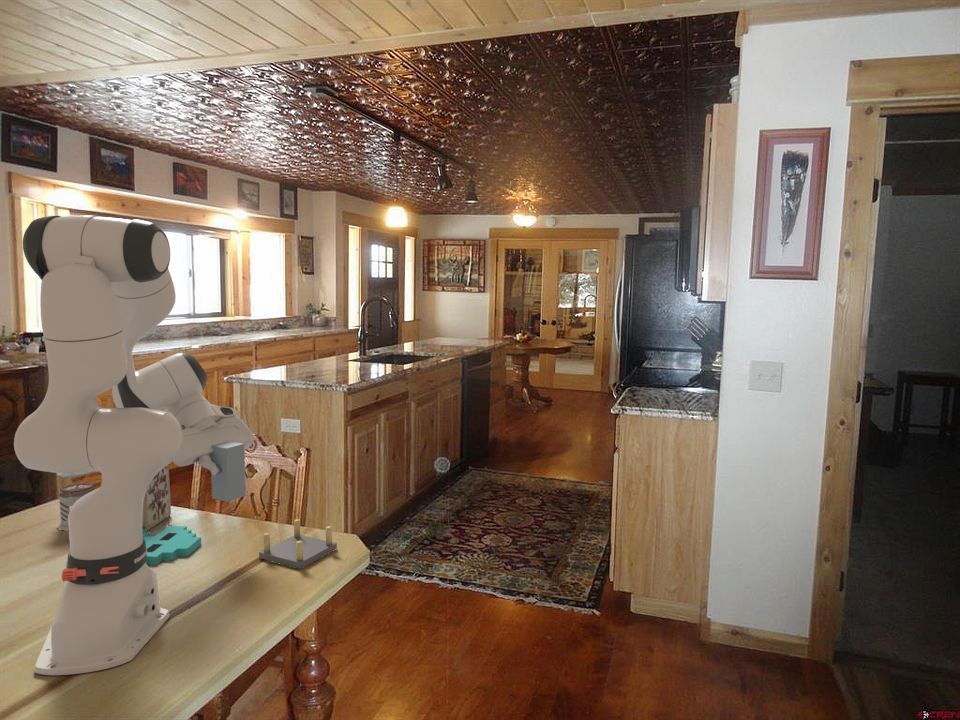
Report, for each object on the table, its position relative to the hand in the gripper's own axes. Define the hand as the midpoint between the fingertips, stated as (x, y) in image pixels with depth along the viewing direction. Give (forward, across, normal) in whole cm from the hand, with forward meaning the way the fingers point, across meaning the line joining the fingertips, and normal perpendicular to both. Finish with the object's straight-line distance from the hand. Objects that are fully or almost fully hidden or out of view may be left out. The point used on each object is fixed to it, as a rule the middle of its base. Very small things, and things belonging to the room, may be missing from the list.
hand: (230, 469), depth 140 cm
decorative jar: (-12, +3, +40) cm, 42 cm away
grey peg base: (+23, +7, +4) cm, 25 cm away
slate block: (+4, 0, +5) cm, 6 cm away
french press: (-22, -5, +49) cm, 54 cm away
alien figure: (+1, -7, +28) cm, 28 cm away
